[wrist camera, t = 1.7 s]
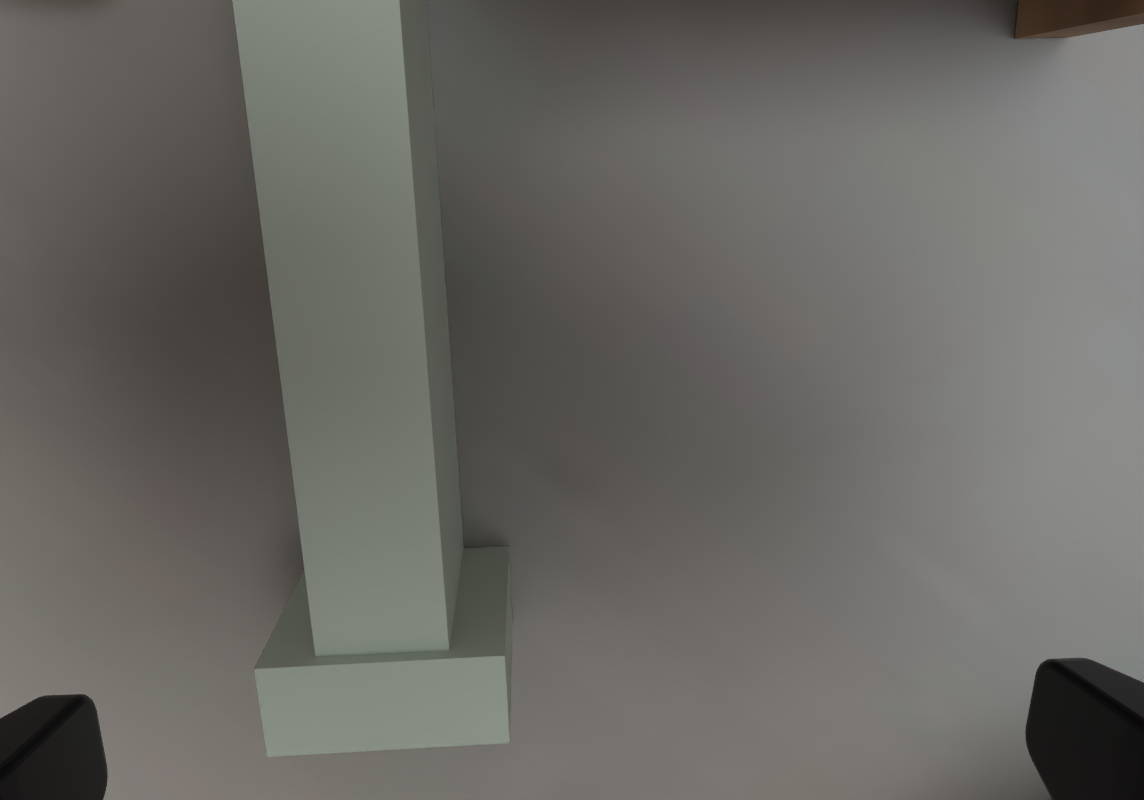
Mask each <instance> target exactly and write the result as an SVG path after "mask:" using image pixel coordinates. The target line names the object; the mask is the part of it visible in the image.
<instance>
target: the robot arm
mask: <svg viewBox="0 0 1144 800" xmlns="http://www.w3.org/2000/svg"><path fill="white" fill-rule="evenodd" d="M1026 743H1027V748H1028V751H1029V754H1030V757H1031V759H1032V761H1033V763H1034V765H1035V767H1036V769H1037V771H1038V773H1039V775H1040V777H1041V779H1042V781H1043V783H1044V785H1045V787H1046V788H1047V790H1048V792H1049V794H1050V796H1051V798H1052V800H1144V683H1143V682H1141V681H1139V680H1137V679H1134V678H1132V677H1130V676H1127V675H1125V674H1123V673H1120V672H1118V671H1116V670H1113V669H1111V668H1109V667H1106V666H1104V665H1102V664H1100V663H1097V662H1095V661H1093V660H1090V659H1086V658H1062V659H1048V660H1046V661H1044V662H1042V663H1041V664H1040V666H1039V667H1038V669H1037V672H1036V675H1035V681H1034V686H1033V691H1032V697H1031V702H1030V708H1029V713H1028V718H1027V724H1026ZM106 786H107V763H106V758H105V753H104V747H103V742H102V737H101V731H100V726H99V720H98V715H97V710H96V707H95V704H94V702H93V701H92V699H91V698H89V697H88V696H86V695H83V694H77V695H48V696H42V697H39V698H37V699H35V700H33V701H31V702H29V703H27V704H26V705H24V706H22V707H20V708H18V709H17V710H15V711H13V712H11V713H9V714H8V715H6V716H4V717H2V718H0V800H103V798H104V795H105V791H106Z"/></svg>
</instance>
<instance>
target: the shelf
mask: <svg viewBox="0 0 1144 800" xmlns="http://www.w3.org/2000/svg"><path fill="white" fill-rule="evenodd" d="M1139 24H1144V0H1019V3H1018V12H1017V22H1016V31H1015V39H1024V38H1059V37H1073V36H1079V35H1084V34H1090V33H1095V32H1101V31H1106V30H1112V29H1117V28H1123V27H1128V26H1134V25H1139Z"/></svg>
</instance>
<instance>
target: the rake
mask: <svg viewBox="0 0 1144 800" xmlns="http://www.w3.org/2000/svg"><path fill="white" fill-rule="evenodd" d="M232 1H233V9H234V17H235V25H236V33H237V41H238V49H239V57H240V65H241V72H242V80H243V88H244V96H245V104H246V112H247V120H248V128H249V136H250V144H251V151H252V159H253V167H254V175H255V183H256V191H257V199H258V207H259V215H260V223H261V231H262V238H263V246H264V254H265V262H266V270H267V278H268V286H269V294H270V302H271V310H272V317H273V325H274V333H275V341H276V349H277V357H278V365H279V373H280V381H281V389H282V396H283V404H284V412H285V420H286V428H287V436H288V444H289V452H290V460H291V468H292V475H293V483H294V491H295V499H296V507H297V515H298V523H299V531H300V539H301V547H302V555H303V562H304V571H303V573H302V575H301V577H300V579H299V581H298V583H297V585H296V587H295V589H294V591H293V593H292V595H291V597H290V599H289V601H288V603H287V605H286V607H285V609H284V611H283V613H282V615H281V617H280V619H279V621H278V623H277V625H276V627H275V629H274V630H273V632H272V634H271V636H270V638H269V640H268V642H267V644H266V646H265V648H264V650H263V652H262V654H261V656H260V658H259V660H258V662H257V664H256V666H255V668H254V673H255V679H256V686H257V693H258V699H259V706H260V713H261V719H262V726H263V733H264V739H265V746H266V753H267V757H275V756H293V755H310V754H327V753H345V752H362V751H379V750H397V749H414V748H431V747H449V746H466V745H483V744H501V743H510V709H511V665H512V621H513V617H512V598H511V579H510V560H509V546H498V547H477V548H464V543H463V528H462V513H461V499H460V484H459V470H458V455H457V441H456V426H455V411H454V397H453V382H452V368H451V353H450V339H449V324H448V310H447V295H446V280H445V266H444V251H443V237H442V222H441V208H440V193H439V178H438V164H437V149H436V135H435V120H434V106H433V91H432V76H431V62H430V47H429V33H428V18H427V4H426V0H232Z"/></svg>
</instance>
